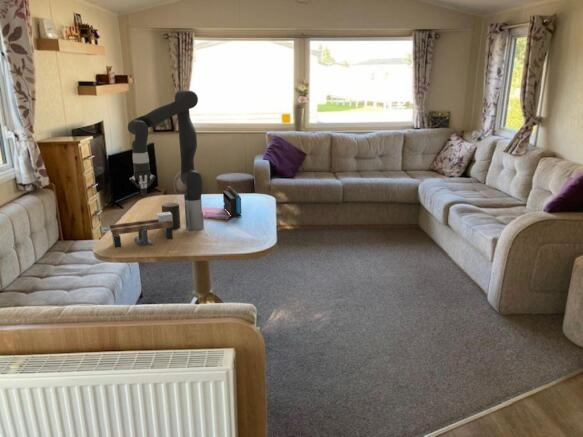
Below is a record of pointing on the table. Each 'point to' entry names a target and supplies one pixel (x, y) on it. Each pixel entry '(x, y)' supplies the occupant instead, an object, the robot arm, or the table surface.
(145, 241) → the pivot stand
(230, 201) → the game console
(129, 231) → the walnut beam
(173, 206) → the pillar candle
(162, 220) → the steel weight
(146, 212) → the table surface
